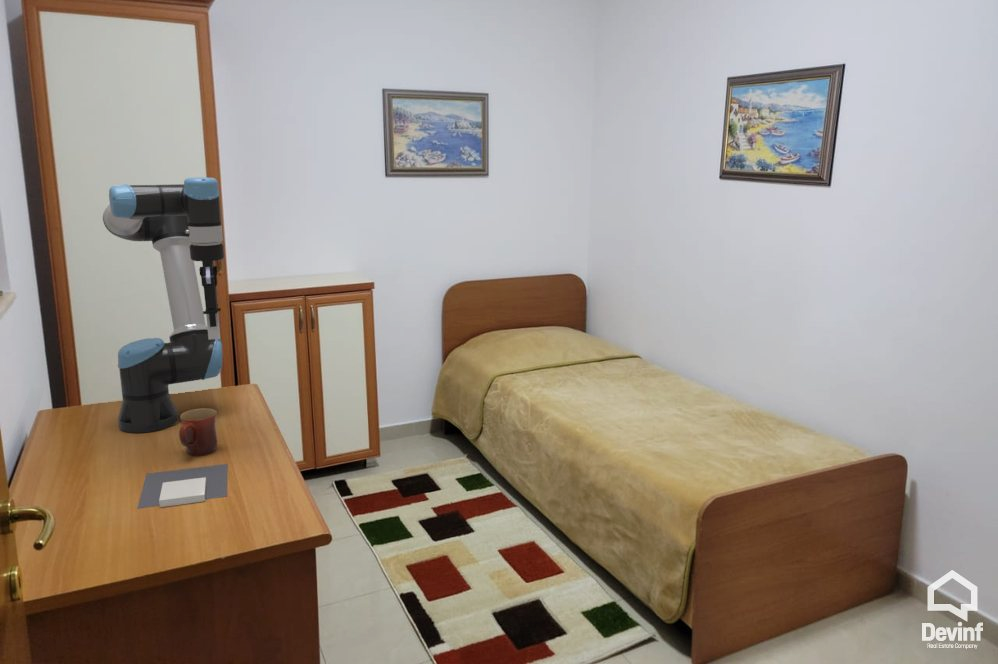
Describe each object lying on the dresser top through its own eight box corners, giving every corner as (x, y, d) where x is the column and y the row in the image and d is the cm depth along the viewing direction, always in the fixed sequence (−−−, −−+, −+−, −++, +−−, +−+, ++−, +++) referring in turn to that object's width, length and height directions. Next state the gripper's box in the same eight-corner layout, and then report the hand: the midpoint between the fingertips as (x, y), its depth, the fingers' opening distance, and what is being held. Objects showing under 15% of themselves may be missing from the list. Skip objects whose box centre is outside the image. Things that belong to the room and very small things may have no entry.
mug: (197, 443, 190) (193, 406, 187) (227, 446, 188) (224, 409, 186) (168, 462, 178) (163, 423, 176) (200, 466, 177) (196, 426, 174)
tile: (162, 482, 163) (159, 500, 155) (205, 477, 166) (204, 494, 158) (163, 489, 164) (159, 507, 155) (206, 483, 167) (205, 501, 158)
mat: (146, 475, 171) (146, 473, 171) (227, 465, 177) (227, 463, 177) (137, 510, 155) (137, 508, 155) (227, 498, 161) (226, 496, 161)
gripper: (190, 240, 179) (199, 333, 184) (187, 247, 167) (196, 346, 173) (223, 239, 181) (230, 331, 187) (222, 246, 169) (230, 343, 175)
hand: (214, 338), depth 180 cm, fingers closed
